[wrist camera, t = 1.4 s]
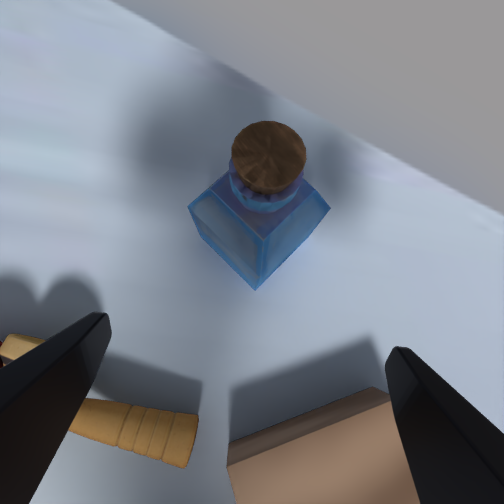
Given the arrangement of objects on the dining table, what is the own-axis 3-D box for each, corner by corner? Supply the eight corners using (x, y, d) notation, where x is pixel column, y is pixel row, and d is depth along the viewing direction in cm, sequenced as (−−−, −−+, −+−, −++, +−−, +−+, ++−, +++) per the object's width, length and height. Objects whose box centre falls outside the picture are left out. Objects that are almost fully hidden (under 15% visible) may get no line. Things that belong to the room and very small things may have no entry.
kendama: (211, 361, 23) (-35, 299, 21) (210, 398, 17) (-143, 315, 15) (182, 461, 22) (-74, 407, 20) (169, 539, 16) (-202, 473, 14)
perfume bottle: (308, 237, 24) (371, 155, 12) (255, 290, 23) (270, 255, 11) (254, 187, 25) (267, 67, 13) (200, 236, 24) (163, 151, 12)
